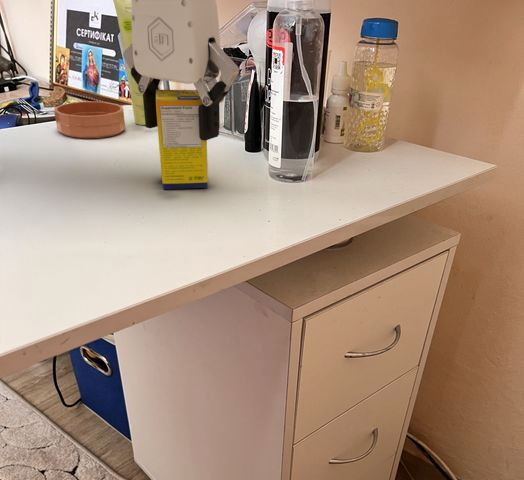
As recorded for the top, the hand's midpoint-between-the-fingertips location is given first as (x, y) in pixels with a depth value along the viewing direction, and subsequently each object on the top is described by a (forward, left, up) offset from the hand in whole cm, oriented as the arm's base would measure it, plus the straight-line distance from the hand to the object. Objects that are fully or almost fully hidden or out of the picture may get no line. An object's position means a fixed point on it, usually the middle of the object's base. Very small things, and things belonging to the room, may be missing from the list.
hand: (181, 131), depth 68 cm
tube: (-15, +29, -7) cm, 33 cm away
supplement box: (0, 0, -7) cm, 7 cm away
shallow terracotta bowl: (-22, +21, -7) cm, 31 cm away
